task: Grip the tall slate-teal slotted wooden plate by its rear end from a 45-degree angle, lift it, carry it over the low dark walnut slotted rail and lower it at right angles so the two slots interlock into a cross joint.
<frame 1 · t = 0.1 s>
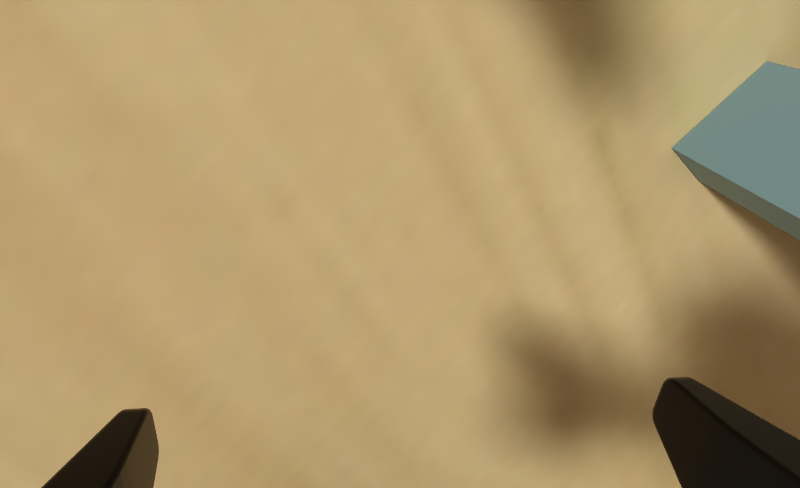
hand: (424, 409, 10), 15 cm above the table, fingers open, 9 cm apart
teal slotted plate: (799, 62, 23), on the table
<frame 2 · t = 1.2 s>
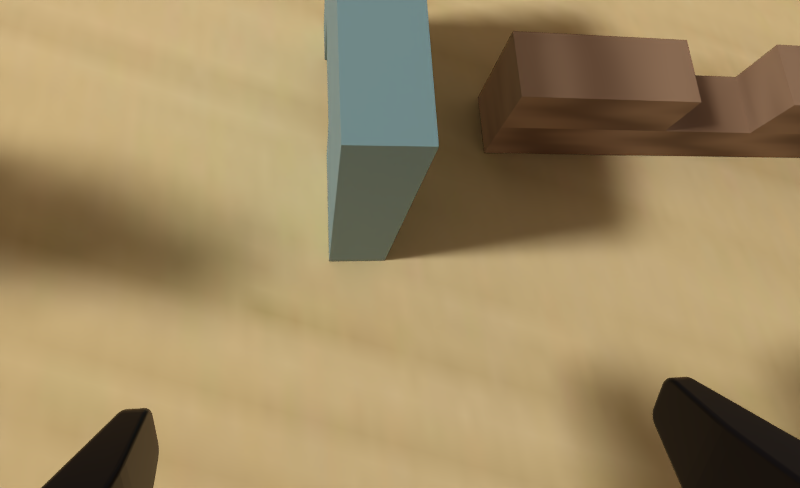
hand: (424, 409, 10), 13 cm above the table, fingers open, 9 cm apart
teal slotted plate: (352, 135, 25), on the table
walnut slotted rail: (668, 128, 28), on the table
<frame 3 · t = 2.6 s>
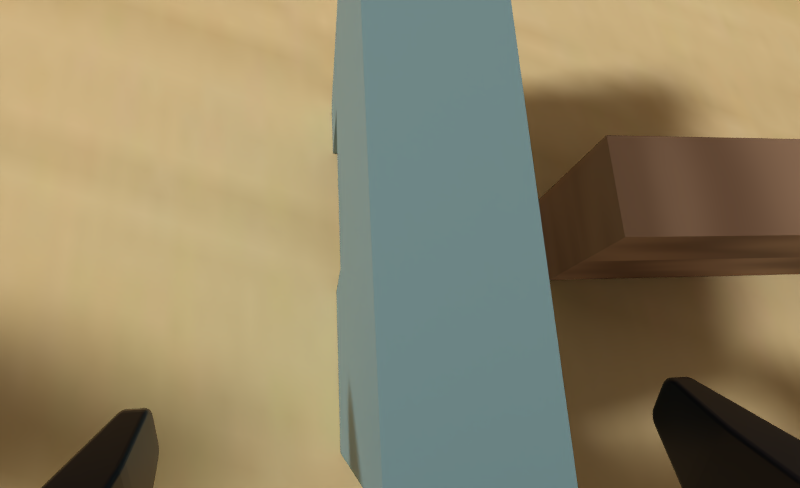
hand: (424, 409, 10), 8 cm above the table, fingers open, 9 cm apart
teal slotted plate: (371, 261, 19), on the table
walnut slotted rail: (787, 236, 21), on the table
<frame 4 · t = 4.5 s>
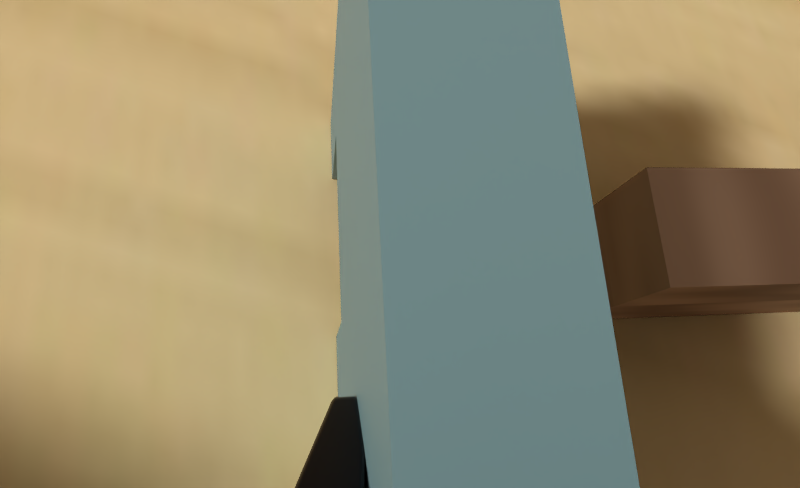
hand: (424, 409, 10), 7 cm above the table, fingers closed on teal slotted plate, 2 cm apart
teal slotted plate: (375, 301, 17), on the table, touching gripper
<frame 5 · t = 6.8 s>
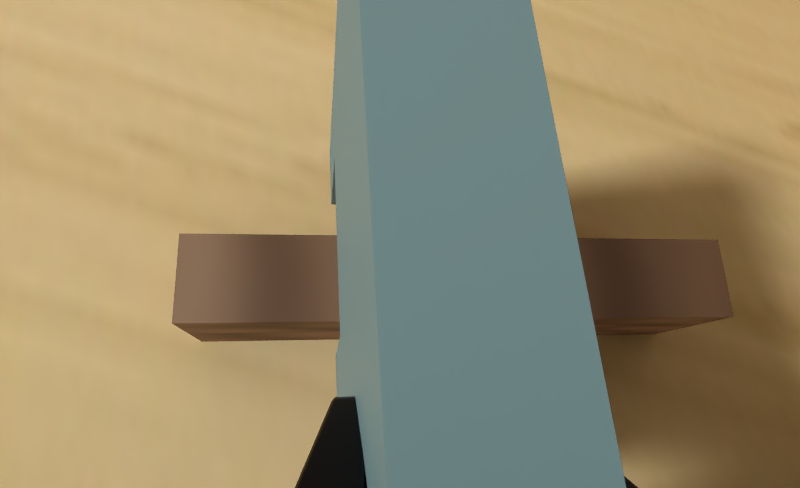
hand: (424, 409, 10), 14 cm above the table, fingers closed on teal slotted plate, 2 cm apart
teal slotted plate: (374, 322, 17), point 7 cm above the table, touching gripper
walnut slotted rail: (441, 303, 24), on the table
when the fingers open (8 cm above the table, at t = 9.1 s): teal slotted plate stays where it is, on the table.
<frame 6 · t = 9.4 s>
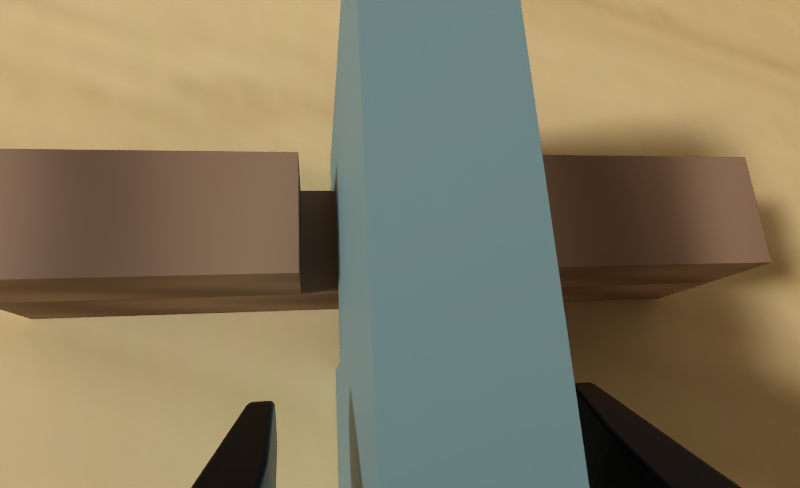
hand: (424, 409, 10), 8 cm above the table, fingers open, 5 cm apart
teal slotted plate: (373, 335, 17), on the table
walnut slotted rail: (370, 262, 18), on the table
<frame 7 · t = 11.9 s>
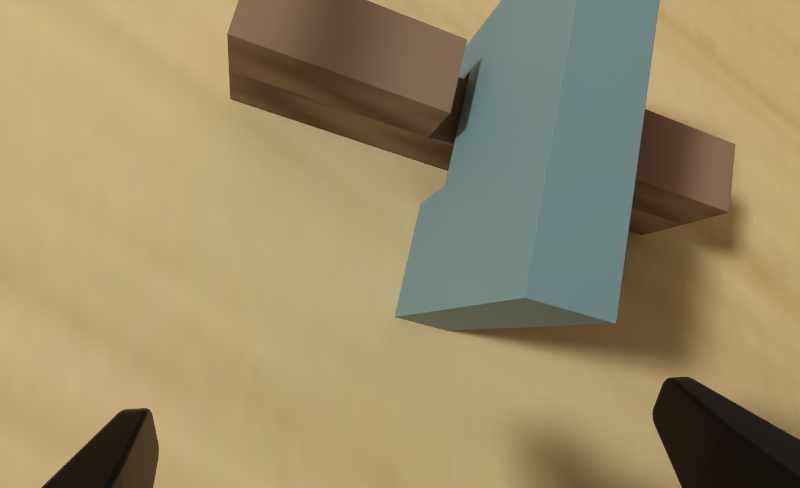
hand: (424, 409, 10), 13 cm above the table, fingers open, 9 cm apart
teal slotted plate: (450, 191, 24), on the table
walnut slotted rail: (461, 142, 25), on the table
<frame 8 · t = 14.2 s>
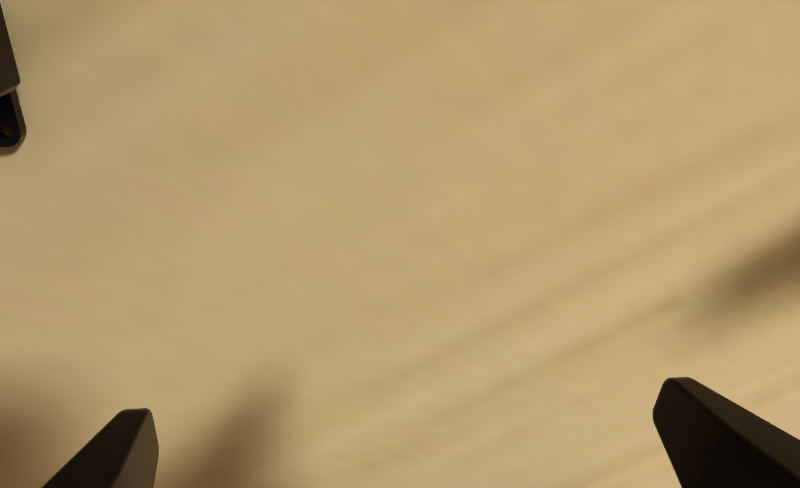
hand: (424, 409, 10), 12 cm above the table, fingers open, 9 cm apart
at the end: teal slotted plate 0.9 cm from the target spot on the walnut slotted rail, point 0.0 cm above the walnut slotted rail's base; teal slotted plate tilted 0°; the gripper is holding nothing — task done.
